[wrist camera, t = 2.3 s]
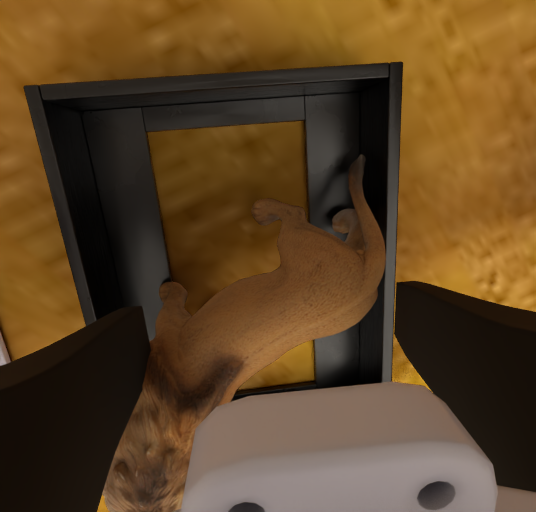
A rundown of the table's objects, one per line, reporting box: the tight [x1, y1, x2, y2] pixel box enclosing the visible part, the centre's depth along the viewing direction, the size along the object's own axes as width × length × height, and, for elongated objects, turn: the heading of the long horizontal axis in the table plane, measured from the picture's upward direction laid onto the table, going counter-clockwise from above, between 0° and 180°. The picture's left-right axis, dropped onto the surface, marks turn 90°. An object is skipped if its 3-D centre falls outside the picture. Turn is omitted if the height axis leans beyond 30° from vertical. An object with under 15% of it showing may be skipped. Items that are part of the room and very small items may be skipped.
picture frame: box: [24, 62, 403, 402], centre depth 16 cm, size 13×17×3 cm
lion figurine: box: [102, 155, 386, 512], centre depth 13 cm, size 15×5×9 cm, turn 137°
